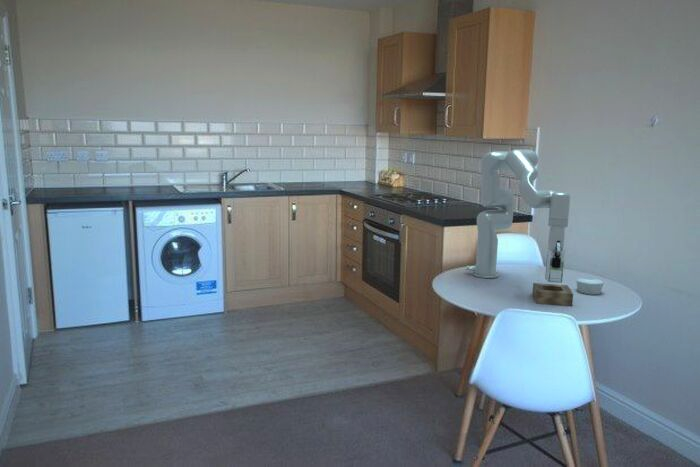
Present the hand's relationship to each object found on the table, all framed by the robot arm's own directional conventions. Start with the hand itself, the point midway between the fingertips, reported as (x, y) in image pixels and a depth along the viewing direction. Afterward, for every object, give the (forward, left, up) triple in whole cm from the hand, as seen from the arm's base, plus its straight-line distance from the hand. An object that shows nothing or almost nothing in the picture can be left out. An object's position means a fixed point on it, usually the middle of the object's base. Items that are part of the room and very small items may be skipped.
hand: (554, 265), depth 241 cm
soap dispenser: (0, 0, -7) cm, 7 cm away
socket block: (0, 0, -15) cm, 15 cm away
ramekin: (+18, +18, -15) cm, 30 cm away
